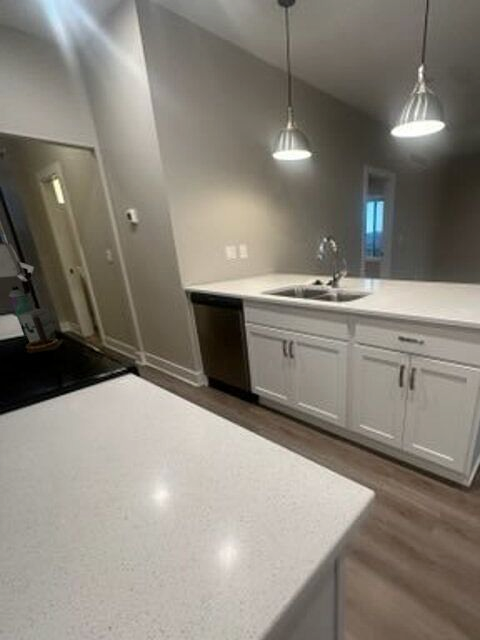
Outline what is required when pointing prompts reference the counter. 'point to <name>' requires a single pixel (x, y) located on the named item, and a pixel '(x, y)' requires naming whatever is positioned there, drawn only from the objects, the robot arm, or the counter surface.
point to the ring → (51, 340)
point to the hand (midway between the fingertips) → (10, 294)
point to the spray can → (20, 304)
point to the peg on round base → (43, 338)
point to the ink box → (30, 326)
